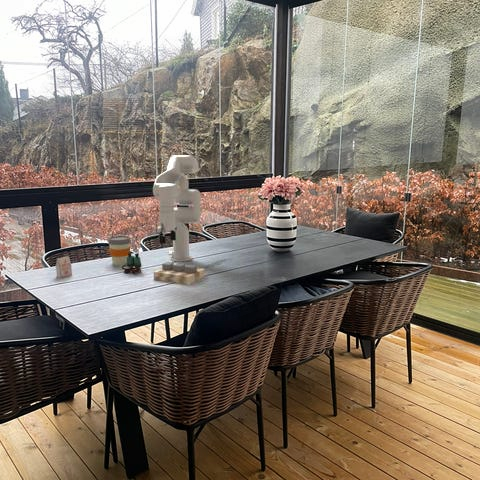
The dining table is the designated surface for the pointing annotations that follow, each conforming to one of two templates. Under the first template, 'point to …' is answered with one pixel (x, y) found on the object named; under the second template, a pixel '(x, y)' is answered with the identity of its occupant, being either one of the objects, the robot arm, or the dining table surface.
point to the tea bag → (63, 267)
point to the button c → (191, 269)
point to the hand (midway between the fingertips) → (167, 241)
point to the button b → (179, 267)
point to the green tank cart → (132, 264)
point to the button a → (167, 266)
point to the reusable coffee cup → (119, 249)
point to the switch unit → (179, 276)
